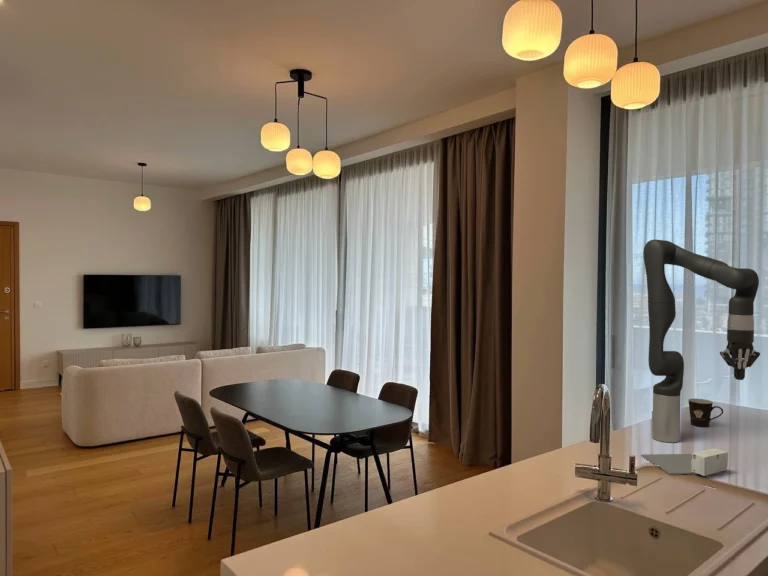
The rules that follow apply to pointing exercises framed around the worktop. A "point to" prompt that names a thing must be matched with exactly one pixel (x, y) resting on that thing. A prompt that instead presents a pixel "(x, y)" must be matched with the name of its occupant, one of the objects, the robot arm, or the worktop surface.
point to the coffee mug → (701, 412)
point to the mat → (673, 463)
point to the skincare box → (709, 461)
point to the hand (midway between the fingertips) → (739, 379)
